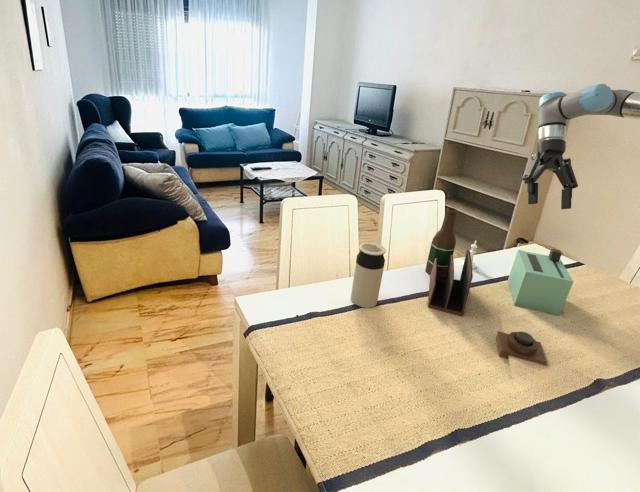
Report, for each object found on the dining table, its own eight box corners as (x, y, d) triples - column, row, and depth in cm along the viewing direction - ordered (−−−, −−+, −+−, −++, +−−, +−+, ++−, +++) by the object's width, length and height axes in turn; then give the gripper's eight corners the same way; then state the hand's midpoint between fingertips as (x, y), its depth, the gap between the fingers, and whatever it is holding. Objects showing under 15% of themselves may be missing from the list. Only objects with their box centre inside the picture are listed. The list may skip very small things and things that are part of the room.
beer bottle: (426, 277, 132) (442, 212, 122) (423, 266, 139) (437, 203, 129) (450, 280, 131) (467, 214, 121) (445, 268, 138) (461, 206, 128)
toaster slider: (556, 258, 122) (560, 250, 121) (558, 261, 120) (562, 253, 119) (548, 256, 123) (551, 248, 122) (549, 260, 121) (553, 251, 120)
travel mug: (366, 312, 111) (375, 257, 104) (345, 299, 117) (352, 246, 110) (382, 302, 116) (392, 249, 109) (361, 290, 122) (369, 239, 114)
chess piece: (459, 264, 141) (466, 240, 137) (464, 260, 145) (471, 236, 141) (473, 269, 138) (480, 245, 134) (478, 265, 142) (485, 241, 138)
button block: (538, 348, 100) (542, 336, 99) (544, 369, 94) (549, 356, 92) (495, 337, 104) (499, 325, 102) (498, 356, 97) (503, 344, 95)
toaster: (548, 289, 128) (560, 257, 123) (559, 316, 115) (574, 281, 110) (507, 280, 132) (518, 249, 127) (514, 305, 119) (526, 271, 114)
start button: (529, 339, 98) (531, 333, 97) (532, 348, 95) (534, 342, 94) (513, 335, 99) (516, 329, 99) (516, 343, 96) (518, 338, 96)
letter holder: (460, 284, 129) (471, 246, 123) (463, 317, 112) (475, 275, 106) (429, 276, 132) (438, 239, 126) (427, 307, 115) (437, 266, 109)
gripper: (569, 150, 131) (568, 211, 129) (510, 138, 125) (508, 202, 123) (592, 144, 124) (591, 209, 122) (531, 131, 118) (529, 200, 116)
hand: (549, 206), depth 123 cm, fingers open, 13 cm apart
